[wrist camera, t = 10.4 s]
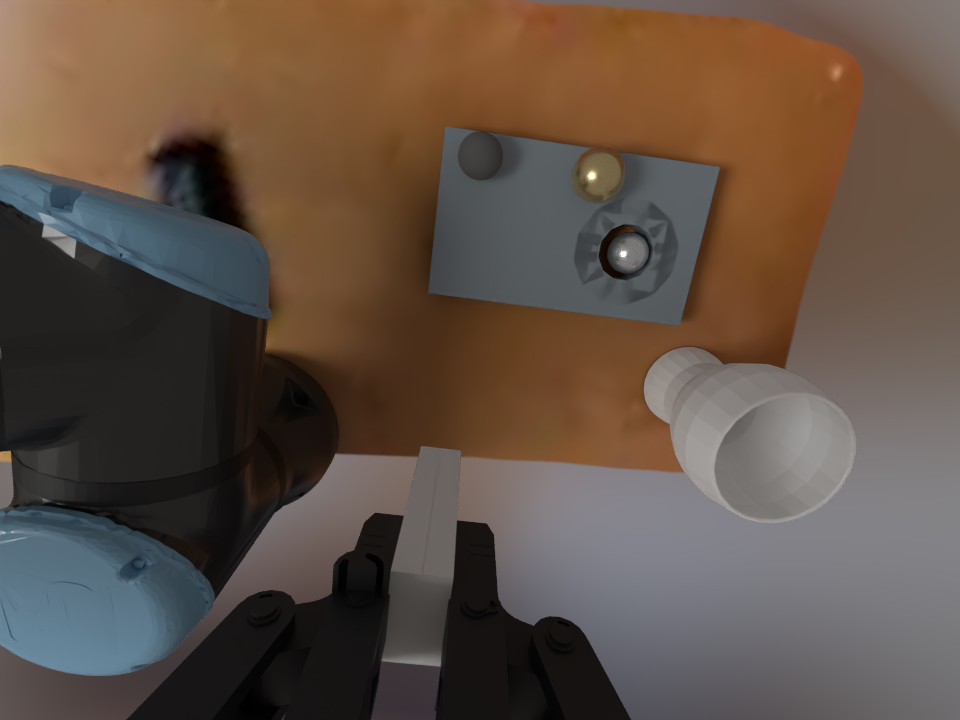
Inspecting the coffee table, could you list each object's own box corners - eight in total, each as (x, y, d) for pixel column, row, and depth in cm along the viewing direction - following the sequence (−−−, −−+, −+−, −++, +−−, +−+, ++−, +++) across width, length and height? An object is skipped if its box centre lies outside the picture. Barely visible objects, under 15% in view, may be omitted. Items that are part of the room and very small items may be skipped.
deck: (430, 289, 42) (428, 293, 39) (447, 132, 38) (445, 126, 36) (668, 320, 43) (679, 326, 40) (705, 170, 39) (720, 166, 37)
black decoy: (456, 179, 37) (454, 174, 34) (461, 132, 36) (460, 123, 33) (498, 185, 37) (500, 181, 34) (504, 139, 36) (507, 130, 33)
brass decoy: (562, 201, 38) (572, 198, 34) (571, 147, 36) (582, 138, 33) (610, 208, 38) (626, 205, 34) (621, 155, 37) (638, 146, 33)
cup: (684, 308, 43) (792, 349, 28) (761, 377, 45) (900, 449, 30) (605, 393, 45) (668, 472, 30) (682, 455, 47) (775, 558, 32)
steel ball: (602, 266, 42) (602, 271, 39) (612, 228, 41) (613, 230, 38) (640, 274, 41) (643, 279, 38) (651, 235, 40) (656, 237, 37)
